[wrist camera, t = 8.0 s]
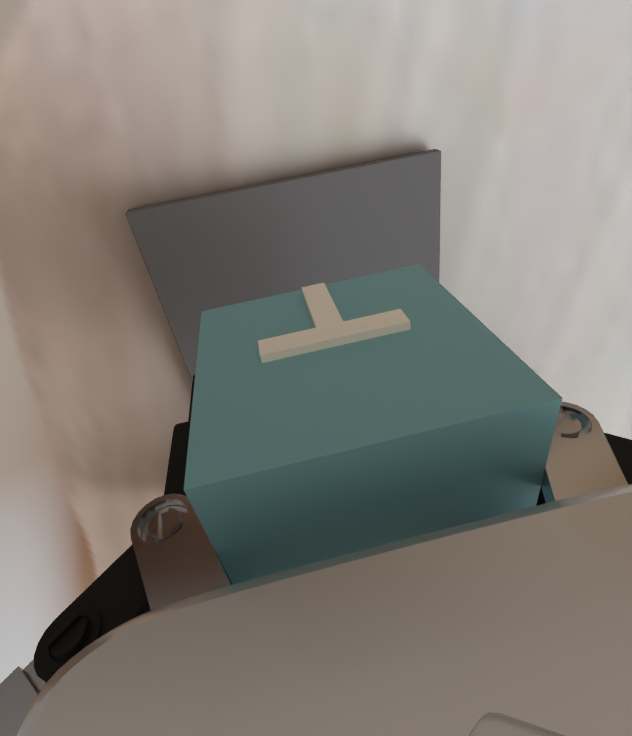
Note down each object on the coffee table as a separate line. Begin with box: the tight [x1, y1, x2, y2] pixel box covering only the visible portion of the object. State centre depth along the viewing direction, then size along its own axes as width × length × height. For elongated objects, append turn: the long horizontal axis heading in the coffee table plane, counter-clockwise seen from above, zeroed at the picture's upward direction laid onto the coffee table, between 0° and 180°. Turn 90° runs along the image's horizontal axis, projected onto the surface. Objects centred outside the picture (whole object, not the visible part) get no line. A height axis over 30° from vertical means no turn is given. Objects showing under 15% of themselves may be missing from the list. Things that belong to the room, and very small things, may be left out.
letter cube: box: [184, 264, 562, 584], centre depth 11 cm, size 6×6×6 cm
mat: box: [125, 149, 441, 382], centre depth 19 cm, size 12×10×1 cm
